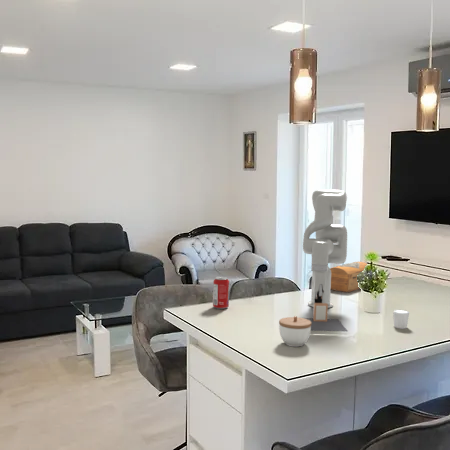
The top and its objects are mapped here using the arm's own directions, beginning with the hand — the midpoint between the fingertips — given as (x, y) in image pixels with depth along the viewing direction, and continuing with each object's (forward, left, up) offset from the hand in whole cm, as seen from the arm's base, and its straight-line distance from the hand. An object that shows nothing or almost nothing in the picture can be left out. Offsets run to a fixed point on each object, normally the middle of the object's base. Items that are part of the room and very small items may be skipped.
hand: (318, 306), depth 258 cm
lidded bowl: (+39, -16, -6) cm, 43 cm away
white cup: (+11, +35, -6) cm, 37 cm away
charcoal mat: (+12, 0, -6) cm, 13 cm away
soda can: (-17, -45, -6) cm, 48 cm away
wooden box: (-75, +31, -6) cm, 82 cm away
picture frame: (+6, 0, -5) cm, 8 cm away
